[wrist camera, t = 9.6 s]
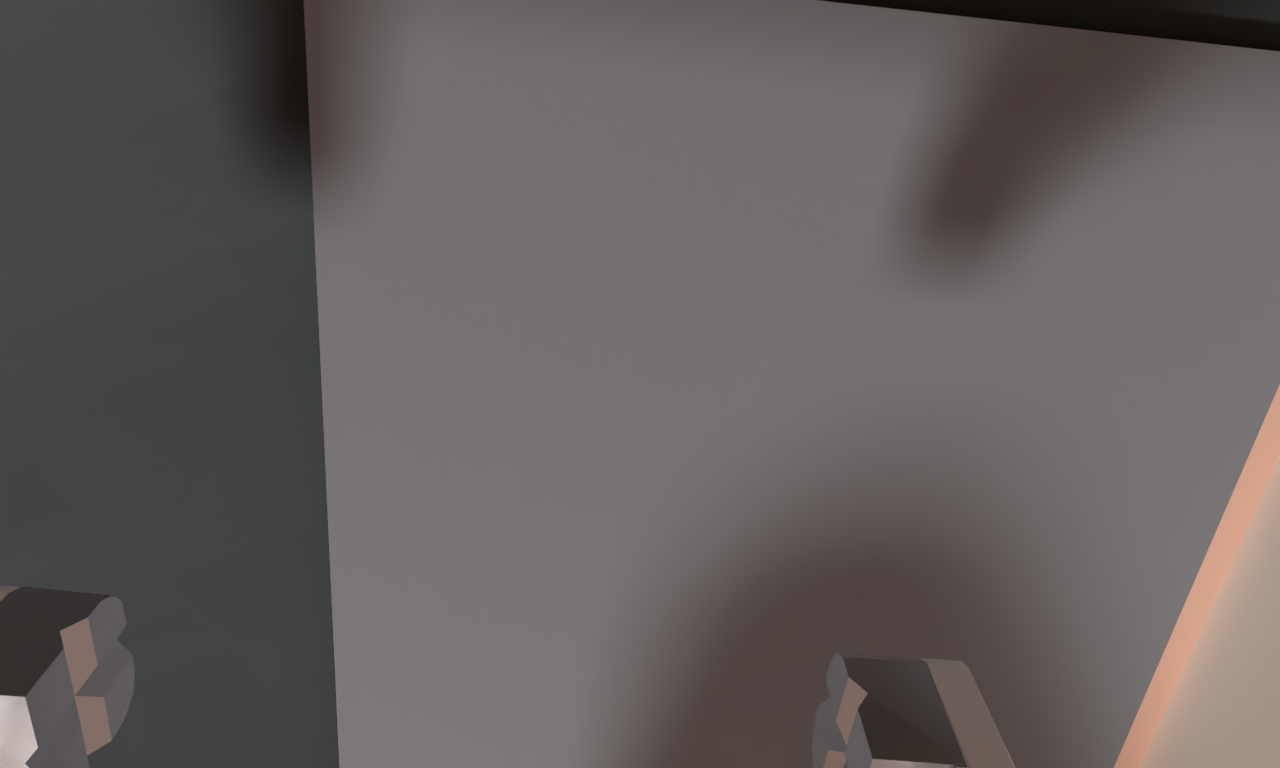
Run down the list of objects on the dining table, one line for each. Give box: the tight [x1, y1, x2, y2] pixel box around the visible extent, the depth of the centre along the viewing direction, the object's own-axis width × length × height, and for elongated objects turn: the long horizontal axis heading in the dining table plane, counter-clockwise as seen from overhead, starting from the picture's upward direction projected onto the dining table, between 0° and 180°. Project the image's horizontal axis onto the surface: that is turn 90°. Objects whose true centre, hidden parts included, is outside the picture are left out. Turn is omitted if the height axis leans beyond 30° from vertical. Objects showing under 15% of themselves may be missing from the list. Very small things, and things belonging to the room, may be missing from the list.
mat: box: [304, 0, 1280, 768], centre depth 16 cm, size 16×29×1 cm, turn 84°
